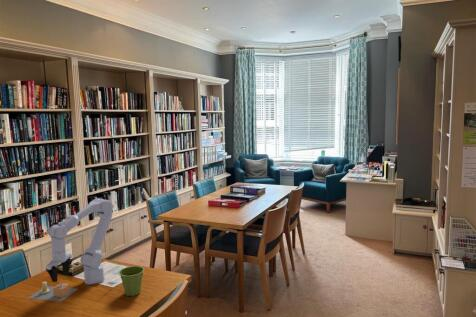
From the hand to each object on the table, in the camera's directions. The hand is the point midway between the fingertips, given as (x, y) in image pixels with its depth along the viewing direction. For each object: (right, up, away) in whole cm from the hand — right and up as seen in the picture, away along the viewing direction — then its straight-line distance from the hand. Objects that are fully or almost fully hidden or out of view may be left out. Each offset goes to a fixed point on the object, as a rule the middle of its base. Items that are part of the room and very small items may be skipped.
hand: (60, 278), depth 165 cm
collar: (0, -8, +1) cm, 8 cm away
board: (-4, -9, +2) cm, 11 cm away
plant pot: (+33, -9, +4) cm, 35 cm away
